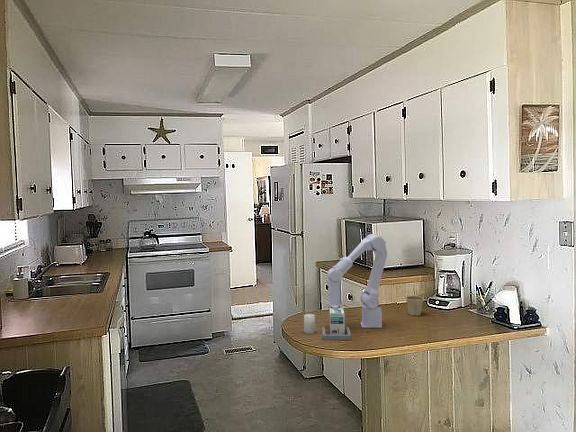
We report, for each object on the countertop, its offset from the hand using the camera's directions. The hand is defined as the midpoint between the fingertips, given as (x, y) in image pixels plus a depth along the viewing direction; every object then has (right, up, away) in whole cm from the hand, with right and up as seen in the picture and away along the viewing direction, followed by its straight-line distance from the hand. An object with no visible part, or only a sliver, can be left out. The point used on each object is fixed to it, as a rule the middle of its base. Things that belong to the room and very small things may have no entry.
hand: (334, 322), depth 240 cm
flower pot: (+44, -1, +23) cm, 49 cm away
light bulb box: (0, -4, -7) cm, 8 cm away
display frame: (0, -4, -11) cm, 11 cm away
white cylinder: (-12, -4, -5) cm, 14 cm away
